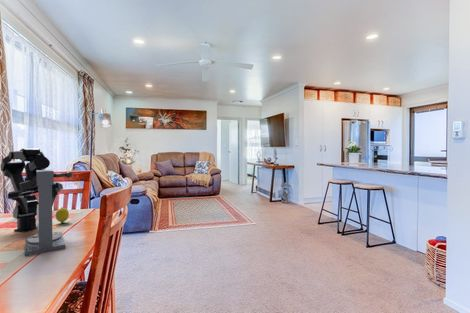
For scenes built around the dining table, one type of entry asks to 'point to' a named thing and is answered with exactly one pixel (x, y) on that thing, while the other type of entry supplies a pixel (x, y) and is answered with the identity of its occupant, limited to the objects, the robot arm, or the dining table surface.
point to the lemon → (62, 214)
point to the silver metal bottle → (37, 221)
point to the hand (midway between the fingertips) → (39, 210)
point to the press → (45, 216)
